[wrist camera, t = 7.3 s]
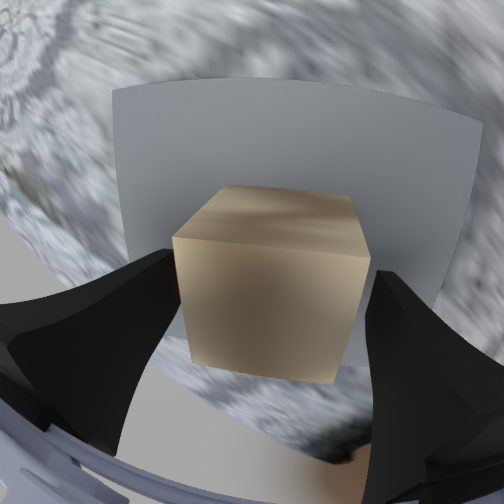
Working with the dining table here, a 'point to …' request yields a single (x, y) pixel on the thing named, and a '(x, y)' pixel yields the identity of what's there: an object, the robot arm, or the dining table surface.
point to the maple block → (271, 281)
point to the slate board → (299, 167)
